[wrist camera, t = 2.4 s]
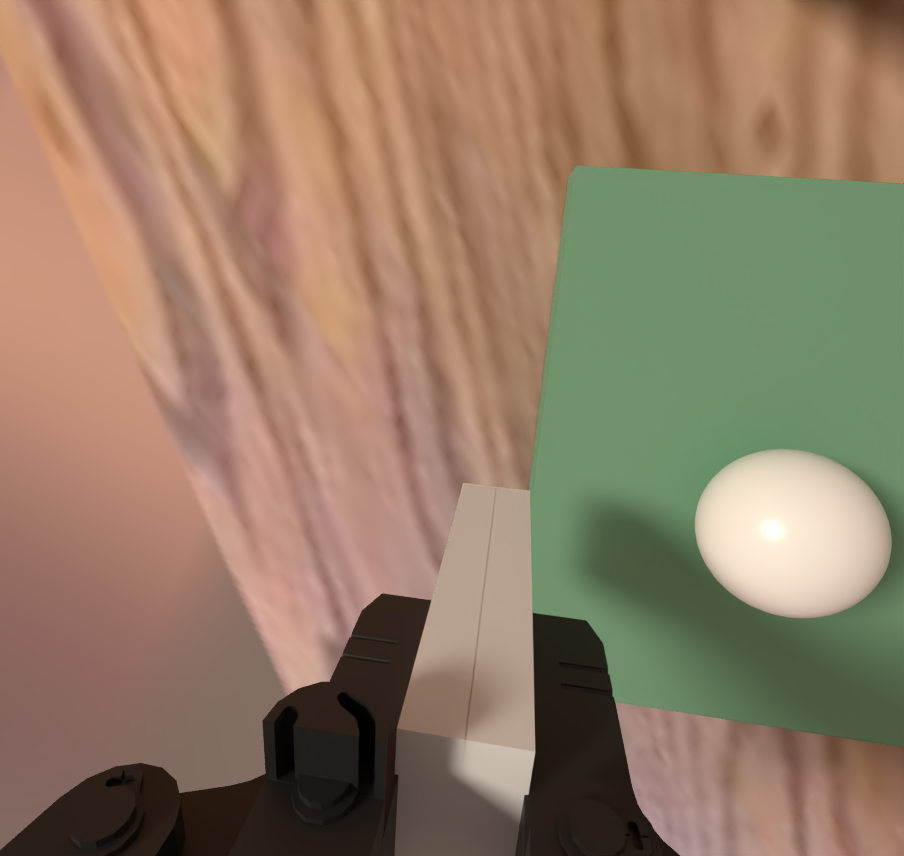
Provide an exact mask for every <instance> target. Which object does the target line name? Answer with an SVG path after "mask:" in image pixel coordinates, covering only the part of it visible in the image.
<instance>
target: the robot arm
mask: <svg viewBox="0 0 904 856" xmlns="http://www.w3.org/2000/svg"><path fill="white" fill-rule="evenodd" d="M263 736H264V752H265V769H266V774H264V775H262V776H260V777H257V778H255V779H253V780H251V781H247V782H244V783H239V784H235V785H231V786H225V787H218V788H212V789H206V790H198V791H192V792H185V793H179V790H178V786H177V781H176V780H175V779H174V778H173V777H172V776H171V775H169V773H168V772H166V771H165V770H164V769H163V768H161V767H156V766H152V765H147V764H143V763H138V764H131V765H124V766H117V767H113V768H111V769H109V770H106V771H104V772H101V773H99V774H97V775H94V776H92V777H90V778H87V779H86V780H85V781H83V782H81V783H80V784H79V785H77V786H76V787H74V788H73V789H71V790H70V791H69V792H67V793H66V794H64V795H63V796H62V797H60V798H59V799H58V800H57V801H56V802H54V803H53V804H52V805H51V806H50V807H49V808H48V809H47V810H45V811H44V812H43V813H42V814H41V815H40V816H38V817H37V818H36V819H35V820H34V821H33V822H32V823H31V824H29V825H28V826H27V827H26V828H25V829H24V830H23V831H22V832H20V833H19V834H18V835H17V836H16V837H15V838H14V839H12V840H11V841H10V842H9V843H8V844H7V845H6V846H5V847H3V848H2V849H1V850H0V856H680V855H679V854H678V853H676V852H675V851H674V850H673V849H672V848H671V847H670V846H668V845H667V844H666V843H665V842H664V841H663V840H662V839H661V838H660V837H659V835H658V834H657V833H656V832H655V830H654V829H653V827H652V825H651V823H650V822H649V820H648V819H647V818H646V817H645V815H644V814H643V813H642V811H641V809H640V808H639V806H638V804H637V801H636V798H635V795H634V791H633V788H632V784H631V779H630V774H629V769H628V764H627V759H626V754H625V749H624V744H623V739H622V734H621V729H620V724H619V719H618V714H617V709H616V704H615V699H614V697H613V689H612V684H611V679H610V674H608V665H607V660H606V655H605V650H604V645H603V642H602V641H601V640H600V638H599V637H598V636H597V634H596V633H595V631H594V630H593V629H592V627H591V626H590V625H589V623H588V622H587V620H581V619H573V618H566V617H559V616H552V615H545V614H538V613H532V565H531V516H530V491H529V490H520V489H512V488H503V487H495V486H486V485H478V484H469V483H463V486H462V489H461V493H460V497H459V500H458V504H457V508H456V512H455V515H454V519H453V523H452V526H451V530H450V534H449V537H448V541H447V545H446V549H445V552H444V556H443V560H442V563H441V567H440V571H439V574H438V578H437V582H436V586H435V589H434V593H433V597H432V600H425V599H418V598H411V597H404V596H396V595H389V594H381V595H380V596H379V597H377V598H376V599H375V600H374V601H373V602H372V603H370V604H369V605H368V606H367V607H366V608H365V609H363V610H362V612H361V614H360V616H359V618H358V621H357V623H356V625H355V627H354V629H353V632H352V636H351V637H350V638H349V640H348V643H347V645H346V647H345V649H344V651H343V656H342V657H341V658H340V660H339V662H338V664H337V667H336V669H335V671H334V673H333V675H332V678H331V680H330V682H319V683H316V684H312V685H309V686H306V687H302V688H299V689H297V690H296V691H294V692H292V693H291V694H289V695H288V696H286V697H285V698H283V699H282V700H280V701H278V702H277V704H276V705H275V706H274V707H273V708H272V710H271V711H270V712H269V713H268V715H267V716H266V717H265V718H264V719H263Z"/></svg>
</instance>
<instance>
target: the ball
mask: <svg viewBox="0 0 904 856" xmlns="http://www.w3.org/2000/svg"><path fill="white" fill-rule="evenodd" d="M695 534H696V540H697V545H698V548H699V551H700V554H701V556H702V558H703V560H704V562H705V564H706V566H707V567H708V569H709V570H710V572H711V573H712V574H713V576H714V577H715V579H716V580H717V581H718V582H719V583H720V584H721V585H722V586H723V587H724V588H725V589H726V590H727V591H729V592H730V593H731V594H733V595H734V596H735V597H737V598H738V599H740V600H741V601H743V602H745V603H746V604H748V605H750V606H752V607H755V608H757V609H759V610H762V611H764V612H767V613H770V614H774V615H778V616H784V617H790V618H816V617H823V616H828V615H832V614H835V613H838V612H841V611H844V610H846V609H848V608H850V607H852V606H854V605H856V604H857V603H859V602H860V601H861V600H863V599H864V598H865V597H866V596H868V595H869V594H870V593H871V592H872V591H873V589H874V588H875V587H876V586H877V585H878V583H879V582H880V580H881V579H882V577H883V575H884V573H885V571H886V569H887V567H888V563H889V560H890V555H891V548H892V536H891V530H890V525H889V520H888V518H887V515H886V513H885V510H884V508H883V506H882V504H881V502H880V501H879V499H878V497H877V496H876V495H875V493H874V492H873V491H872V490H871V488H870V487H869V486H868V485H867V484H866V483H865V482H864V481H863V480H862V479H861V478H859V477H858V476H857V475H856V474H855V473H854V472H852V471H851V470H849V469H848V468H846V467H845V466H843V465H841V464H840V463H838V462H836V461H834V460H832V459H829V458H827V457H824V456H821V455H818V454H815V453H811V452H808V451H802V450H793V449H771V450H765V451H760V452H756V453H752V454H749V455H746V456H744V457H741V458H739V459H737V460H735V461H733V462H731V463H730V464H728V465H727V466H725V467H724V468H723V469H721V470H720V471H719V472H718V473H717V474H716V475H715V476H714V477H713V478H712V479H711V481H710V482H709V483H708V485H707V486H706V488H705V489H704V491H703V493H702V495H701V497H700V499H699V502H698V505H697V510H696V515H695Z"/></svg>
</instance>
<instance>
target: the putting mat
mask: <svg viewBox="0 0 904 856" xmlns="http://www.w3.org/2000/svg"><path fill="white" fill-rule="evenodd" d="M771 449H793V450H802V451H808V452H811V453H815V454H818V455H821V456H824V457H827V458H829V459H832V460H834V461H836V462H838V463H840V464H841V465H843V466H845V467H846V468H848V469H849V470H851V471H852V472H854V473H855V474H856V475H857V476H858V477H859V478H861V479H862V480H863V481H864V482H865V483H866V484H867V485H868V486H869V487H870V488H871V490H872V491H873V492H874V493H875V495H876V496H877V497H878V499H879V501H880V502H881V504H882V506H883V508H884V510H885V513H886V515H887V518H888V520H889V525H890V530H891V536H892V548H891V555H890V560H889V563H888V567H887V569H886V571H885V573H884V575H883V577H882V579H881V580H880V582H879V583H878V585H877V586H876V587H875V588H874V589H873V591H872V592H871V593H870V594H869V595H868V596H866V597H865V598H864V599H863V600H861V601H860V602H859V603H857V604H856V605H854V606H852V607H850V608H848V609H846V610H844V611H841V612H838V613H835V614H832V615H828V616H823V617H816V618H790V617H784V616H778V615H774V614H770V613H767V612H764V611H762V610H759V609H757V608H755V607H752V606H750V605H748V604H746V603H745V602H743V601H741V600H740V599H738V598H737V597H735V596H734V595H733V594H731V593H730V592H729V591H727V590H726V589H725V588H724V587H723V586H722V585H721V584H720V583H719V582H718V581H717V580H716V579H715V577H714V576H713V574H712V573H711V572H710V570H709V569H708V567H707V566H706V564H705V562H704V560H703V558H702V556H701V554H700V551H699V548H698V545H697V540H696V534H695V515H696V510H697V505H698V502H699V499H700V497H701V495H702V493H703V491H704V489H705V488H706V486H707V485H708V483H709V482H710V481H711V479H712V478H713V477H714V476H715V475H716V474H717V473H718V472H719V471H720V470H721V469H723V468H724V467H725V466H727V465H728V464H730V463H731V462H733V461H735V460H737V459H739V458H741V457H744V456H746V455H749V454H752V453H756V452H760V451H765V450H771ZM528 490H529V491H530V516H531V565H532V613H538V614H545V615H552V616H559V617H566V618H573V619H581V620H587V622H588V623H589V625H590V626H591V627H592V629H593V630H594V631H595V633H596V634H597V636H598V637H599V638H600V640H601V641H602V642H603V645H604V650H605V655H606V660H607V665H608V674H610V679H611V684H612V689H613V697H614V699H615V702H619V703H626V704H632V705H638V706H645V707H651V708H657V709H664V710H670V711H676V712H683V713H689V714H696V715H702V716H708V717H715V718H721V719H727V720H734V721H740V722H746V723H753V724H759V725H765V726H772V727H778V728H784V729H791V730H797V731H803V732H810V733H816V734H822V735H829V736H835V737H842V738H848V739H854V740H861V741H867V742H873V743H880V744H886V745H892V746H899V747H904V184H900V183H882V182H864V181H846V180H828V179H810V178H792V177H774V176H755V175H737V174H719V173H701V172H683V171H665V170H647V169H629V168H611V167H593V166H575V168H574V169H573V171H572V173H571V174H570V176H569V178H568V184H567V192H566V200H565V208H564V215H563V223H562V231H561V239H560V247H559V255H558V262H557V270H556V278H555V286H554V294H553V302H552V309H551V317H550V325H549V333H548V341H547V348H546V356H545V364H544V372H543V380H542V388H541V395H540V403H539V411H538V419H537V427H536V435H535V442H534V450H533V458H532V466H531V474H530V482H529V489H528Z"/></svg>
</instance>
